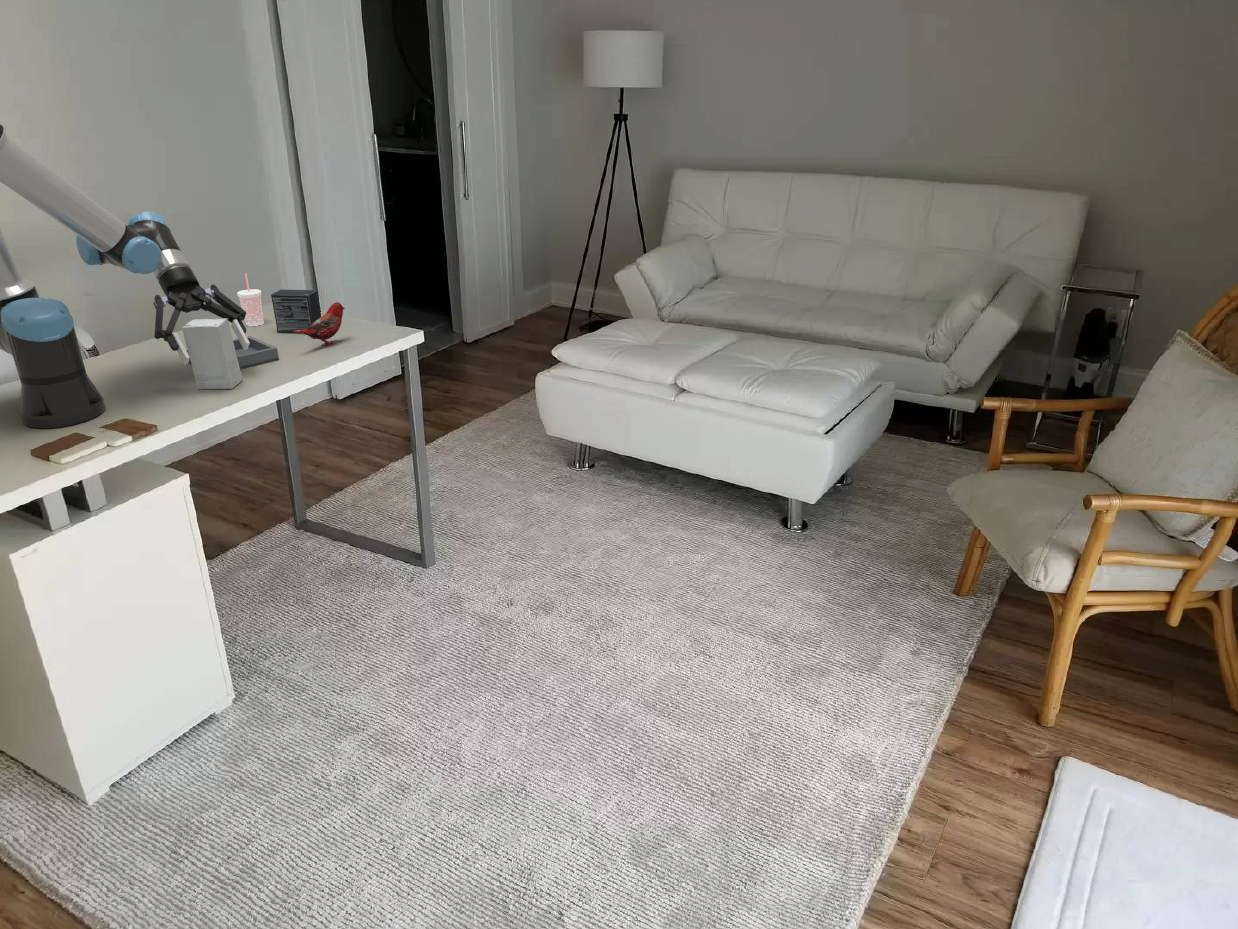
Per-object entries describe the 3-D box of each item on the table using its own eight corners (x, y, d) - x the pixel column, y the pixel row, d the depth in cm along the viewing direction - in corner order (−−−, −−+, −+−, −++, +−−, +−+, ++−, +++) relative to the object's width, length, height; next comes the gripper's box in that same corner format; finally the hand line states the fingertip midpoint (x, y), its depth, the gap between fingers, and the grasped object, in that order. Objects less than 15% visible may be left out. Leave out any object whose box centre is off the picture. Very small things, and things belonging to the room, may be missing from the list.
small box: (324, 327, 243) (318, 289, 239) (314, 334, 237) (308, 295, 233) (286, 326, 244) (280, 288, 239) (276, 333, 238) (269, 294, 234)
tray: (214, 375, 208) (211, 363, 206) (188, 362, 217) (186, 350, 215) (279, 359, 218) (277, 347, 217) (252, 347, 227) (250, 335, 226)
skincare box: (243, 381, 205) (230, 317, 198) (231, 390, 199) (218, 325, 193) (206, 380, 205) (193, 317, 199) (194, 389, 200) (180, 325, 193)
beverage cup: (238, 325, 244) (228, 274, 238) (255, 319, 249) (246, 269, 243) (254, 328, 242) (244, 277, 236) (271, 322, 247) (262, 272, 241)
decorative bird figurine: (352, 338, 234) (347, 300, 229) (299, 357, 220) (293, 317, 216) (344, 336, 235) (339, 299, 231) (291, 355, 221) (284, 315, 217)
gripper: (225, 274, 213) (266, 349, 210) (114, 295, 196) (158, 376, 194) (231, 255, 207) (274, 332, 204) (118, 275, 191) (162, 358, 188)
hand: (217, 353), depth 199 cm, fingers open, 13 cm apart
